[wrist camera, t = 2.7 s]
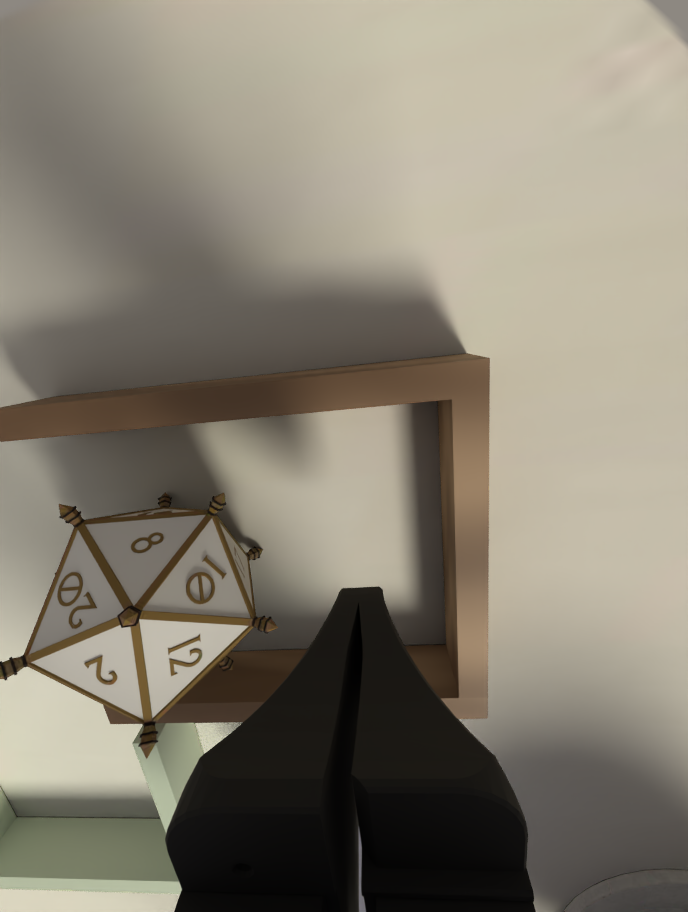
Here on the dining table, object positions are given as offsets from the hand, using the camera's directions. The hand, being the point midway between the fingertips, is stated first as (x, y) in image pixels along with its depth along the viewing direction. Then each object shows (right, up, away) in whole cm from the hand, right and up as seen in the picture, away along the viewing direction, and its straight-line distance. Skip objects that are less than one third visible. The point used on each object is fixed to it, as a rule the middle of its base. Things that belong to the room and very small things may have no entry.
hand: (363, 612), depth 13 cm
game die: (-8, +1, +6) cm, 10 cm away
